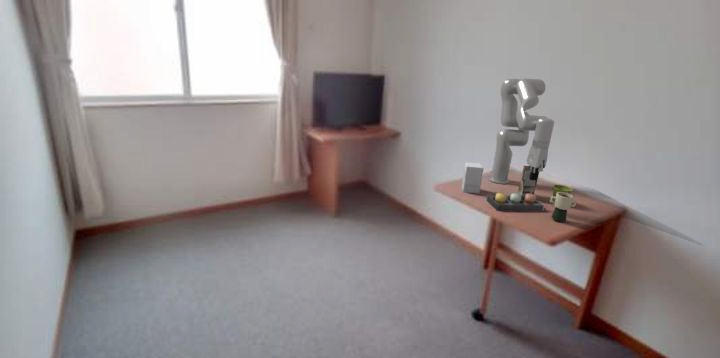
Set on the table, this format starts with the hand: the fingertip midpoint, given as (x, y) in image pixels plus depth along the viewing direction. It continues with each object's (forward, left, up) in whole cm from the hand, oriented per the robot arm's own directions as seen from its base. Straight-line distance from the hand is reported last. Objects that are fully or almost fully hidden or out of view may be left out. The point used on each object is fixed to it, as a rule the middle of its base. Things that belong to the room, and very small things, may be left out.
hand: (532, 179), depth 187 cm
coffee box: (-14, +7, -15) cm, 21 cm away
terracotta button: (0, +1, -12) cm, 12 cm away
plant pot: (-5, +21, -15) cm, 26 cm away
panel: (0, -7, -14) cm, 16 cm away
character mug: (+16, +7, -15) cm, 23 cm away
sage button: (0, -7, -12) cm, 14 cm away
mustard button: (0, -15, -12) cm, 20 cm away
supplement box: (-21, -22, -15) cm, 34 cm away
